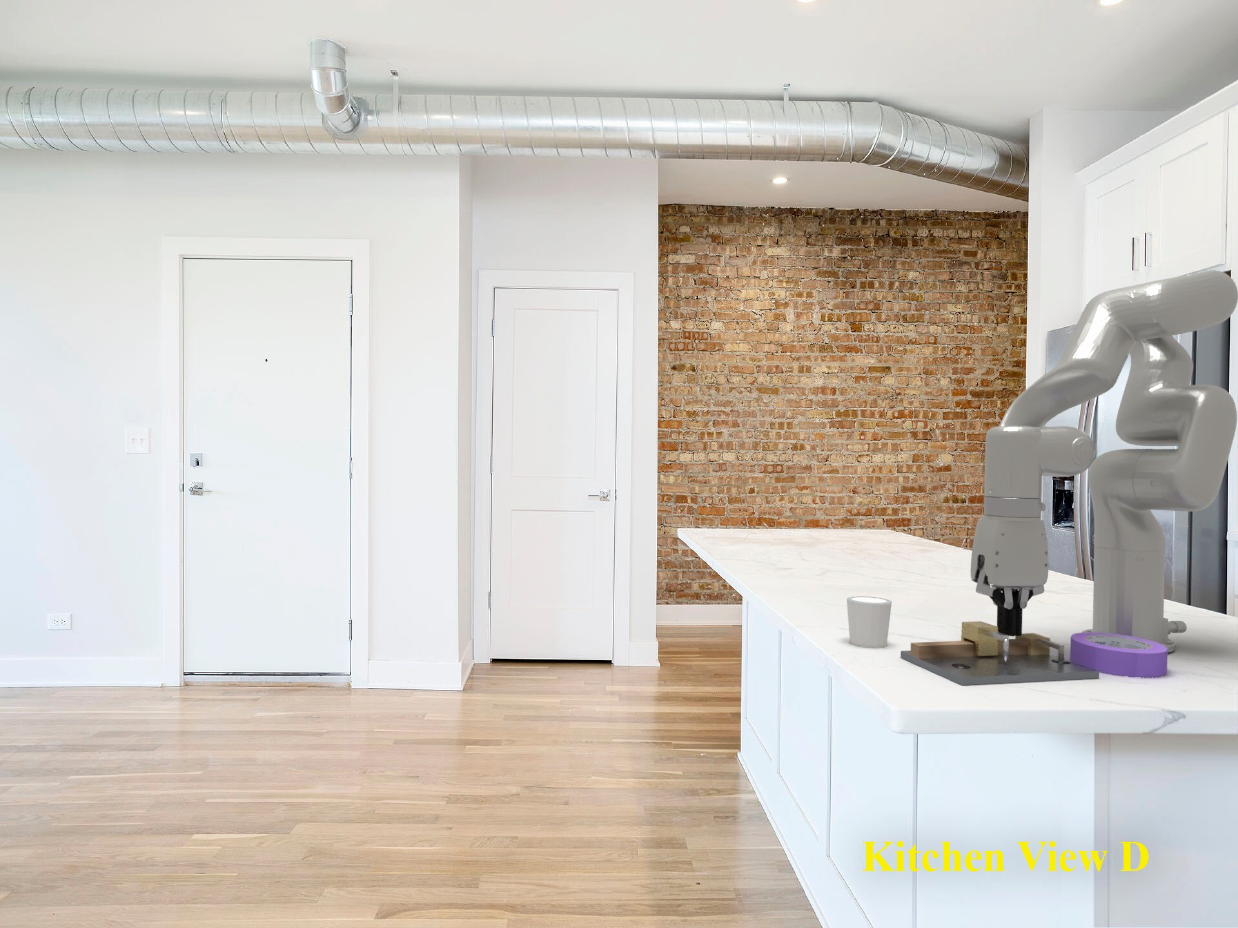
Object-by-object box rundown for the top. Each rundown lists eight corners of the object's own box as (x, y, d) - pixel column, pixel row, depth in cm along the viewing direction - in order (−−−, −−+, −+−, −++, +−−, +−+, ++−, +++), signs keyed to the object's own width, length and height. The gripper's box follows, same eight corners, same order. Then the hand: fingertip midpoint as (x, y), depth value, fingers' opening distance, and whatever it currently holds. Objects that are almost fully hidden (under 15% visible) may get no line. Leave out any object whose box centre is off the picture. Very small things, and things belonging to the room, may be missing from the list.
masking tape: (1188, 678, 105) (1189, 650, 105) (1113, 680, 103) (1114, 652, 103) (1120, 656, 116) (1120, 631, 116) (1051, 658, 114) (1052, 632, 114)
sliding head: (979, 648, 113) (980, 621, 113) (1017, 662, 106) (1018, 632, 106) (960, 649, 113) (961, 621, 113) (997, 663, 105) (997, 633, 105)
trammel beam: (1033, 648, 115) (1033, 633, 115) (1072, 661, 108) (1072, 644, 107) (908, 653, 110) (908, 637, 110) (940, 667, 103) (940, 650, 103)
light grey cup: (894, 649, 117) (895, 604, 117) (847, 646, 118) (848, 602, 118) (887, 639, 124) (888, 596, 124) (843, 637, 125) (844, 594, 125)
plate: (1023, 652, 117) (1023, 645, 117) (1098, 678, 103) (1099, 670, 103) (900, 657, 112) (900, 650, 112) (962, 685, 99) (962, 677, 99)
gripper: (1036, 508, 117) (1033, 627, 117) (951, 507, 114) (948, 629, 114) (1075, 512, 110) (1072, 638, 110) (985, 511, 107) (982, 641, 107)
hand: (1009, 633), depth 112 cm, fingers closed
